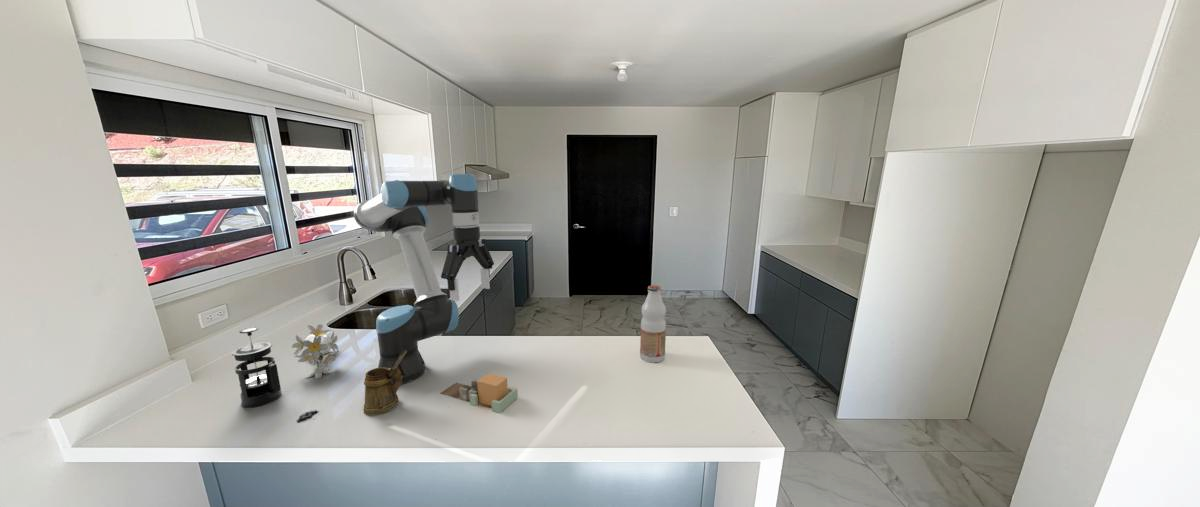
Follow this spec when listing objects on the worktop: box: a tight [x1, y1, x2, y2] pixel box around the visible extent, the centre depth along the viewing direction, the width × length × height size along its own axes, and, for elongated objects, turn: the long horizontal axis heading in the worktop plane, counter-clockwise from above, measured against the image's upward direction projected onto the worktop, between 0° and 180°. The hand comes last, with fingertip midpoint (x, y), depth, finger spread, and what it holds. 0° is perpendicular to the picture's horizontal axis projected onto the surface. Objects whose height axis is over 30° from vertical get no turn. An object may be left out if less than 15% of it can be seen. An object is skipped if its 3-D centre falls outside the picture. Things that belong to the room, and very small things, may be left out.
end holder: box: [469, 386, 519, 414], centre depth 114 cm, size 11×9×3 cm
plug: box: [465, 372, 509, 406], centre depth 115 cm, size 14×5×7 cm, turn 66°
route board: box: [439, 378, 516, 413], centre depth 116 cm, size 24×7×4 cm, turn 67°
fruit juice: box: [639, 284, 667, 364], centre depth 141 cm, size 9×9×28 cm
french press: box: [231, 327, 283, 409], centre depth 114 cm, size 12×9×23 cm
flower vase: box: [291, 324, 340, 379], centre depth 138 cm, size 13×18×25 cm
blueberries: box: [296, 409, 320, 424], centre depth 108 cm, size 7×8×2 cm
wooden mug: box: [363, 349, 407, 416], centre depth 111 cm, size 9×14×18 cm, turn 94°
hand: (471, 294), depth 117 cm, fingers open, 13 cm apart
